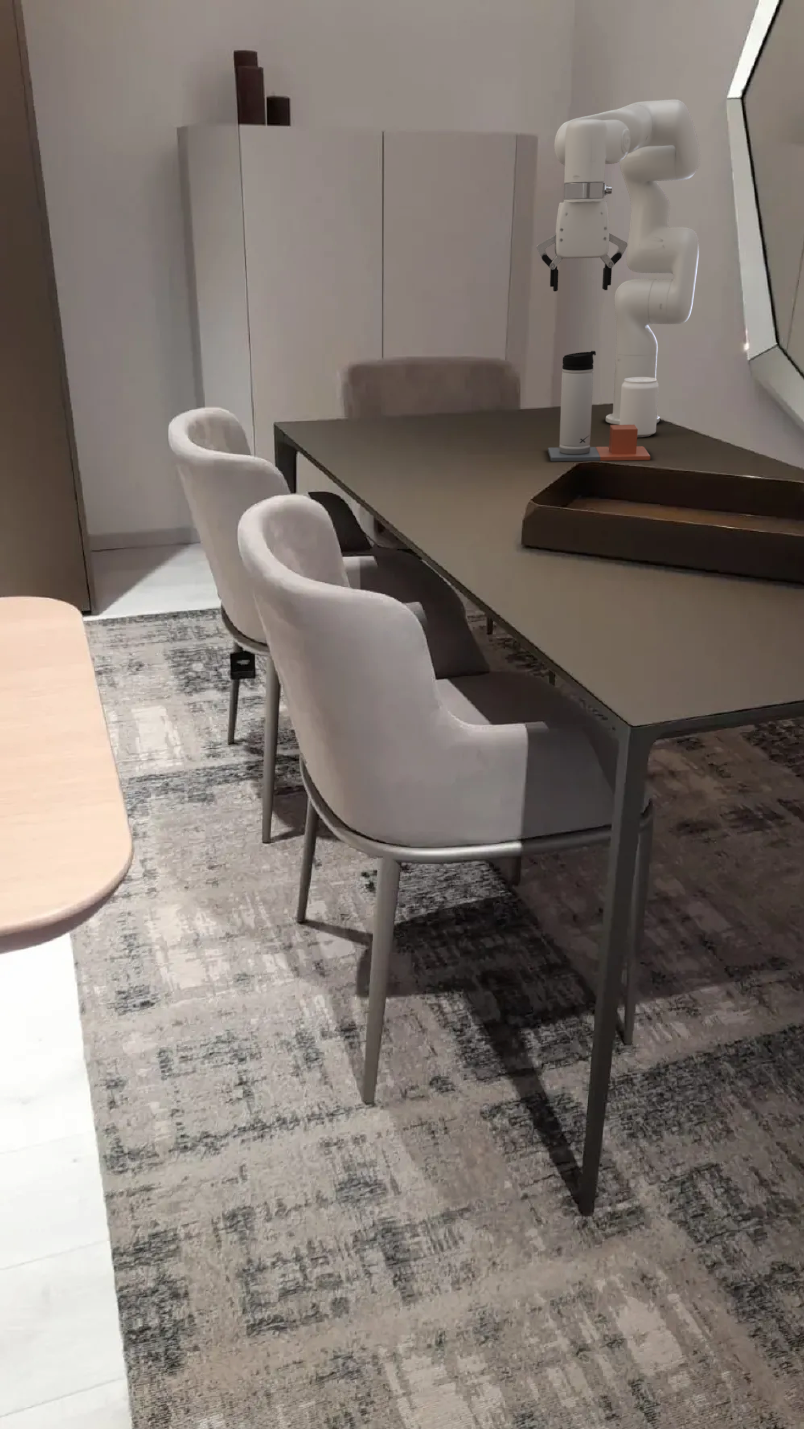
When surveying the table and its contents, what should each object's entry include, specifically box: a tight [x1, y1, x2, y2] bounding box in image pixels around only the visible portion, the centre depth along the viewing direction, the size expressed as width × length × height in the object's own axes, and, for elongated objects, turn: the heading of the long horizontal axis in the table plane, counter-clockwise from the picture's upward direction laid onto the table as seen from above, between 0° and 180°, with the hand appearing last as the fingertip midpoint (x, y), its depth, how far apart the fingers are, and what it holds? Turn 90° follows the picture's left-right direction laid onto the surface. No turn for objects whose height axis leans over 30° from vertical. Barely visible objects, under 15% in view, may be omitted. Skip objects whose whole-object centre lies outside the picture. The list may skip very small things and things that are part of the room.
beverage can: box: [619, 377, 660, 438], centre depth 245 cm, size 8×8×12 cm
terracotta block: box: [608, 424, 638, 454], centre depth 227 cm, size 5×5×5 cm
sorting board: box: [547, 445, 651, 462], centre depth 228 cm, size 10×20×1 cm, turn 87°
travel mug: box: [558, 350, 597, 455], centre depth 224 cm, size 6×7×20 cm
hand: (580, 290), depth 215 cm, fingers open, 9 cm apart
